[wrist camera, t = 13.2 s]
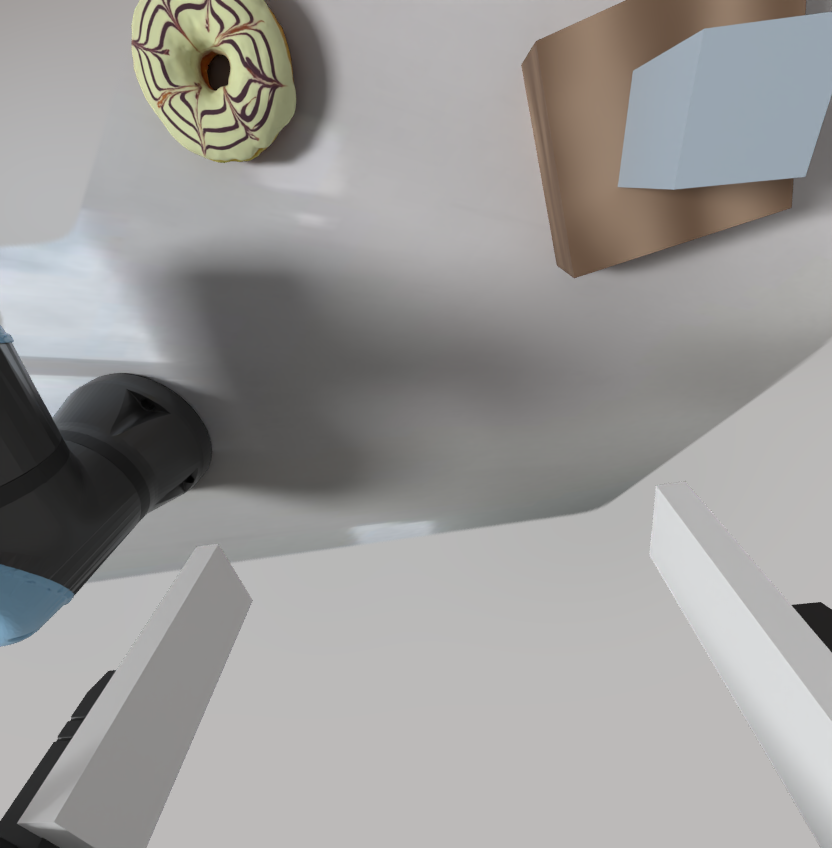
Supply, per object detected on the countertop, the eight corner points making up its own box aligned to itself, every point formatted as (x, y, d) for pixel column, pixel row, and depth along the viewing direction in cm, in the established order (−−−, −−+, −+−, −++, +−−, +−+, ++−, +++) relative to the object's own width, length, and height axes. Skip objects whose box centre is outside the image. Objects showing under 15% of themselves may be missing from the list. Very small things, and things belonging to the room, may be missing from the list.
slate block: (617, 187, 28) (673, 189, 21) (632, 70, 25) (704, 28, 18) (714, 177, 27) (805, 176, 20) (741, 57, 24) (859, 7, 17)
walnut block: (556, 264, 36) (574, 278, 31) (520, 66, 30) (535, 41, 24) (737, 204, 33) (791, 207, 28) (740, -32, 26) (812, -85, 21)
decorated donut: (329, 111, 31) (315, 103, 28) (223, 190, 35) (200, 191, 31) (238, -62, 27) (210, -95, 24) (127, 45, 30) (88, 29, 27)
